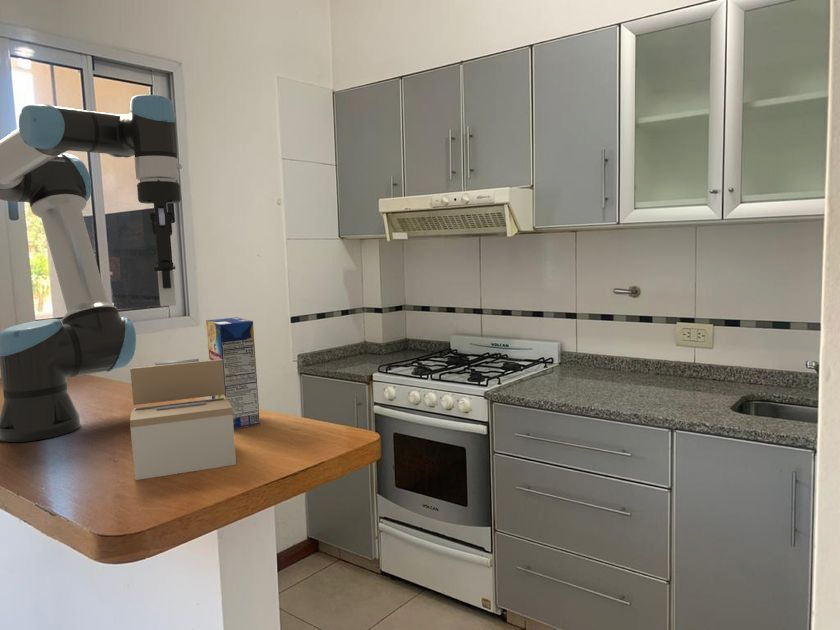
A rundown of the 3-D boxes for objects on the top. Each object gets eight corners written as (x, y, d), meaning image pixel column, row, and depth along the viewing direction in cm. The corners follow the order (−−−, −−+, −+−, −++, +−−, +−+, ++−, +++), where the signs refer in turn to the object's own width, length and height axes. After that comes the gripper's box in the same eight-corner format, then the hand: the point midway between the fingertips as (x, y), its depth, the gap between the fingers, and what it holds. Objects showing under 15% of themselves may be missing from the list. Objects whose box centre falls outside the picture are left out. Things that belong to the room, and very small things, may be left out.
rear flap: (133, 405, 117) (135, 396, 124) (225, 394, 123) (221, 386, 130) (130, 368, 116) (132, 361, 123) (222, 359, 122) (219, 353, 129)
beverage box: (227, 430, 133) (220, 324, 130) (213, 419, 142) (205, 320, 140) (260, 424, 136) (253, 321, 134) (243, 414, 146) (237, 317, 143)
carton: (138, 455, 118) (133, 400, 117) (228, 442, 124) (224, 390, 123) (135, 480, 105) (129, 418, 104) (236, 464, 111) (231, 406, 110)
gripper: (181, 176, 115) (191, 307, 117) (177, 186, 131) (186, 299, 134) (135, 176, 112) (146, 309, 114) (137, 186, 128) (146, 302, 131)
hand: (167, 304), depth 124 cm, fingers open, 5 cm apart
